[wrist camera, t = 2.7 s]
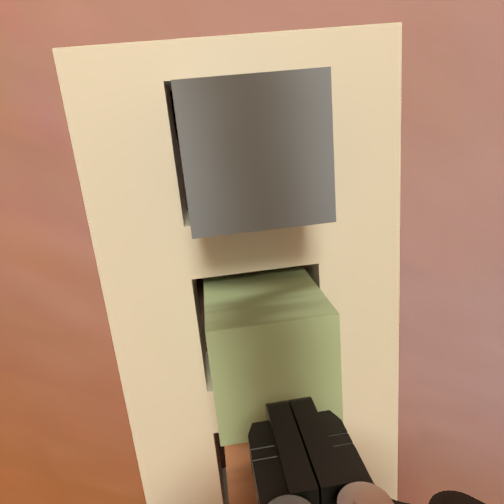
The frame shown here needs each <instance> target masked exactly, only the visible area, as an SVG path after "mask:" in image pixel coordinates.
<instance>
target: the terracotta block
mask: <svg viewBox="0 0 504 504" xmlns="http://www.w3.org/2000/svg"><path fill="white" fill-rule="evenodd" d="M224 448H225V460H226V472H227V484H228V497H229V504H257V500H256V494H255V488H254V483H253V477H252V469H251V460H250V451H249V442H246V443H240V444H233V445H227V446H224Z"/></svg>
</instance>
